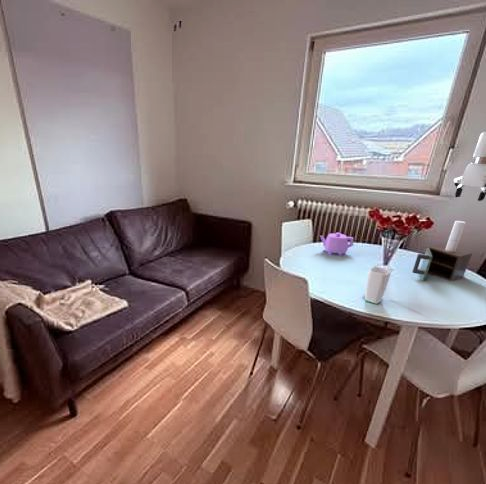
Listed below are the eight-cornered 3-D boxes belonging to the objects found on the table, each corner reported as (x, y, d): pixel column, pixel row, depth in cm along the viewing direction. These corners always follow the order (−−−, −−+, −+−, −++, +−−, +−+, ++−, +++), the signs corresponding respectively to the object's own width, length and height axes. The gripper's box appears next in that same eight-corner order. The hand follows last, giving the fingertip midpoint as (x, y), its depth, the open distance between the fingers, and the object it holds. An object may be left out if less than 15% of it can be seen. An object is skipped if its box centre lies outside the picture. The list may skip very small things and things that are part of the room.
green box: (410, 279, 160) (418, 254, 154) (409, 269, 172) (416, 246, 166) (424, 282, 157) (432, 256, 152) (421, 271, 169) (429, 247, 164)
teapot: (349, 250, 199) (353, 231, 194) (352, 257, 188) (357, 237, 183) (317, 247, 203) (320, 228, 198) (318, 254, 192) (321, 234, 187)
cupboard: (450, 282, 158) (460, 256, 152) (421, 271, 170) (429, 247, 164) (462, 278, 163) (472, 253, 157) (433, 267, 175) (441, 244, 169)
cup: (383, 300, 139) (392, 270, 133) (378, 306, 135) (386, 275, 128) (366, 295, 144) (374, 265, 138) (361, 300, 139) (368, 270, 133)
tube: (452, 252, 158) (463, 223, 151) (443, 249, 161) (453, 221, 155) (457, 250, 160) (467, 222, 153) (448, 248, 163) (457, 220, 157)
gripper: (508, 162, 137) (493, 201, 144) (465, 159, 151) (453, 195, 158) (500, 163, 134) (485, 202, 141) (456, 159, 148) (444, 196, 155)
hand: (468, 198), depth 149 cm, fingers open, 9 cm apart
